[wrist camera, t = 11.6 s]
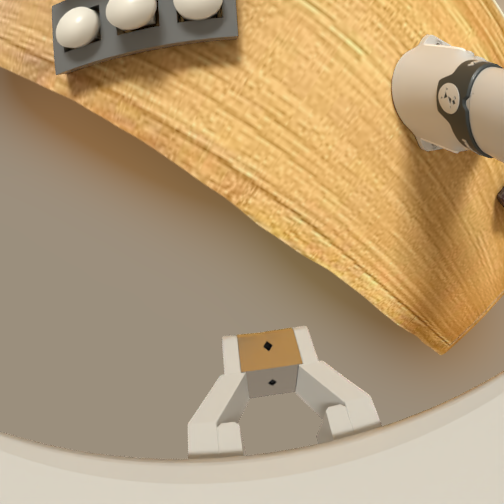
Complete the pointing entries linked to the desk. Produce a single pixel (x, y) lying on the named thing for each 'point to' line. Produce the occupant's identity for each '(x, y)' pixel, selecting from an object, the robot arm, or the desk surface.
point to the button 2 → (197, 9)
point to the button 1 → (79, 28)
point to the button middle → (131, 13)
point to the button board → (139, 34)
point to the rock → (501, 196)
